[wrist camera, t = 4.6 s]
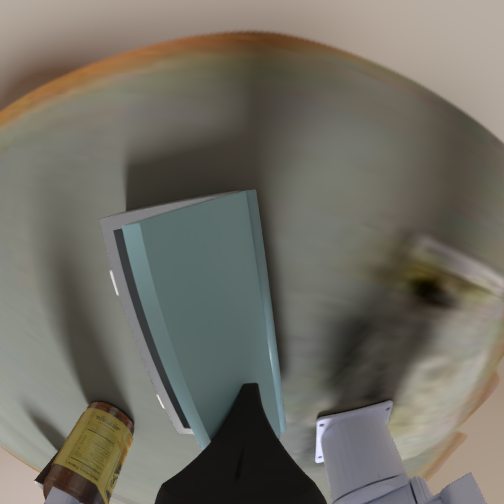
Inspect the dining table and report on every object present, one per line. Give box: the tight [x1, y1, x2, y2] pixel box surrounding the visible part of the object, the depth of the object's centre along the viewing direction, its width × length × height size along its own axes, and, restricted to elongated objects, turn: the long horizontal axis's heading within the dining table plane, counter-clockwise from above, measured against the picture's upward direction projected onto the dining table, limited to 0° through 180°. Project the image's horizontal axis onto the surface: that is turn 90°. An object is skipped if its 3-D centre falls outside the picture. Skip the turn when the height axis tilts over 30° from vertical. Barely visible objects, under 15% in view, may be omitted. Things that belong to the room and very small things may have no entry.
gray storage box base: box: [100, 190, 240, 434], centre depth 18 cm, size 18×8×4 cm, turn 8°
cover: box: [122, 189, 286, 450], centre depth 12 cm, size 18×9×1 cm
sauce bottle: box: [43, 402, 134, 504], centre depth 14 cm, size 6×6×20 cm
